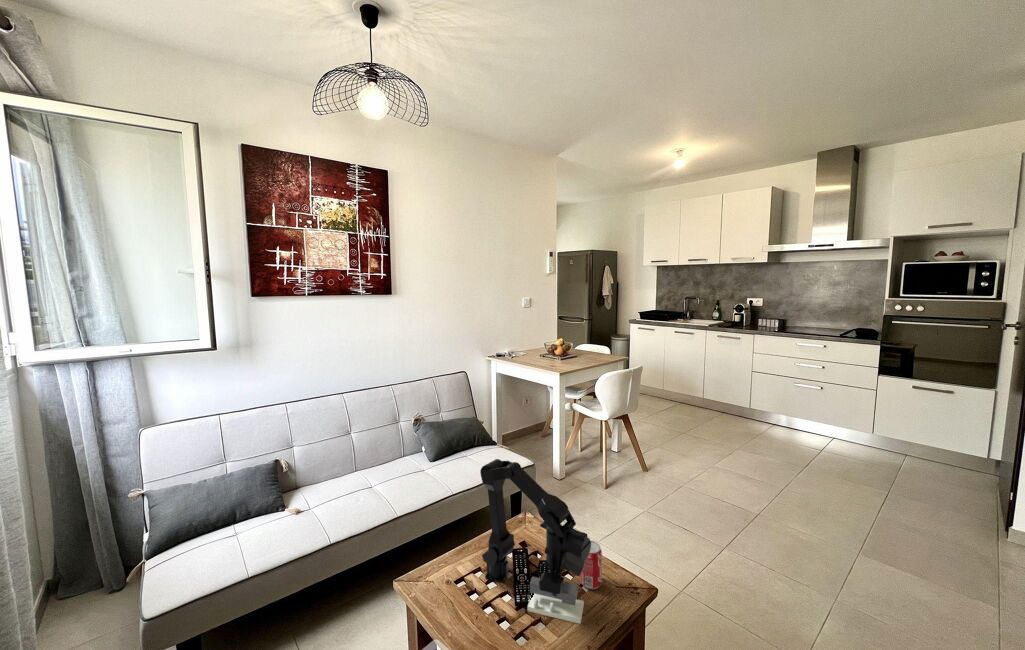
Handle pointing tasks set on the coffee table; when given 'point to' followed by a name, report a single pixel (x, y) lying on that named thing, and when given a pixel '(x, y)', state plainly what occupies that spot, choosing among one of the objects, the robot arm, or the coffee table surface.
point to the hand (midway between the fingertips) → (555, 591)
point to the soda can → (592, 568)
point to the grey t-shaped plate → (566, 595)
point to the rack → (556, 608)
